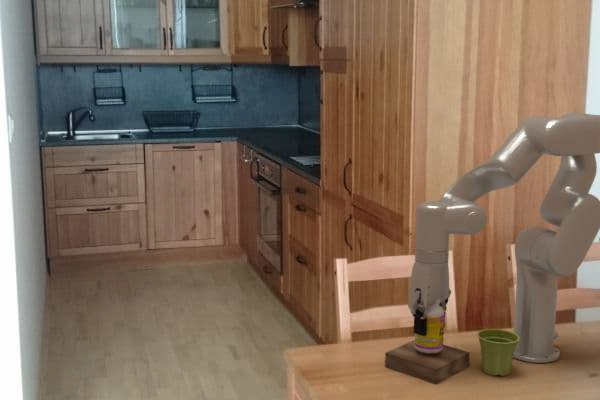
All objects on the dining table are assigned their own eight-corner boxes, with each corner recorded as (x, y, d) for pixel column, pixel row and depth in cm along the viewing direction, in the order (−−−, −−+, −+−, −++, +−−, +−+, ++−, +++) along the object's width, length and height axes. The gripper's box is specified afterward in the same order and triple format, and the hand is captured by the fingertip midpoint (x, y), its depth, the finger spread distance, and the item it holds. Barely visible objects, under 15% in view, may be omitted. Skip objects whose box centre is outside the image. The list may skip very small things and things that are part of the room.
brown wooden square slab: (419, 351, 187) (419, 337, 186) (469, 366, 177) (469, 352, 177) (385, 366, 177) (385, 352, 176) (435, 384, 167) (436, 369, 167)
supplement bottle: (442, 355, 172) (444, 301, 170) (413, 353, 174) (415, 299, 172) (443, 344, 179) (445, 292, 177) (415, 342, 180) (416, 291, 178)
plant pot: (489, 360, 181) (491, 325, 180) (524, 371, 175) (527, 335, 173) (467, 371, 175) (469, 335, 173) (503, 383, 168) (505, 346, 167)
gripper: (438, 246, 181) (436, 317, 184) (395, 259, 169) (393, 336, 172) (466, 252, 176) (463, 325, 179) (423, 266, 164) (421, 344, 167)
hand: (429, 329), depth 176 cm, fingers closed on supplement bottle, 6 cm apart
